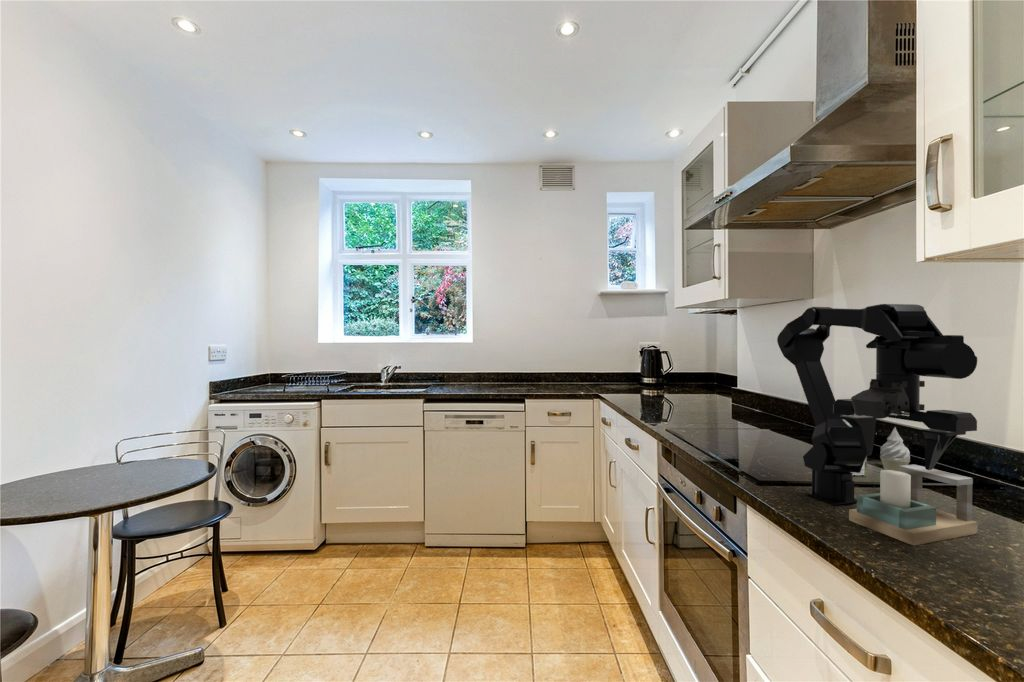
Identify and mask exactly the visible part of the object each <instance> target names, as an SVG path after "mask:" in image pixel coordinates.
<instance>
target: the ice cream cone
mask: <svg viewBox="0 0 1024 682" xmlns="http://www.w3.org/2000/svg"><path fill="white" fill-rule="evenodd" d="M886 440H887V441H886V442H885V443H883V444H882V446H880V447H879V448H880V453H879V454H880V455H879V457H880V461H881V463H882V466H883V470H893V471H899V466H903V465H910V462H911V455H910V454H911V452H910V450H909V448H908V447H907V446H906V445H905V444H904V443H903V442H904V440H903V438H902V437H901V436H900V434H899V432H898V430H897V427H896V426H894V428H893V429H892V431H891V433H890V434H889V436H888V437H887V438H886ZM899 472H901V471H899ZM904 473H905V472H904Z"/></svg>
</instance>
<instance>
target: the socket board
mask: <svg viewBox="0 0 1024 682" xmlns="http://www.w3.org/2000/svg"><path fill="white" fill-rule="evenodd" d="M899 471H901V472H905V473H907V474H909V475H911V499H910V508H908V509H901V508H898V507H895V506H892V505H889V504H886V503H883V502H880V492H876V493H869V494H868V493H867V494H861V495H860V494H859V495H856V499H857V502H856V508H851V509H850V508H849V510H848V521H850V522H852V523H855V524H856V525H860V526H863V527H866V528H867V529H870V530H873V531H875V532H877V533H880V534H884V535H885V536H888V537H891V538H893V539H896V540H899V541H900V542H902V543H903V542H904V543H906V544H908V545H910V546H919V545H924V544H928V543H929V544H930V543H934V542H940V541H945V540H949V539H951V540H952V539H958V538H960V537H966V536H972V535H977V534H978V526H979V525H978V524H979V523H978V521H975V520H973V484H974V479H973V477H969V476H965V475H961V474H957V473H951V472H947V471H944V470H939V469H937V468H933V469H932V470H926V469H925V466H923V465H918V464H916V463H915V464H914V463H913V464H908V465H903V466H899ZM923 478H926V479H929V480H933V481H937V482H941V483H946V484H948V485H949V484H950V485H953V486H956V515H955V514H952V513H949V512H946V511H942V510H940V509H937V507H935V506H933V505H929V504H928V503H927V504H926V503H924V502H923Z"/></svg>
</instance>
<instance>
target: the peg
mask: <svg viewBox="0 0 1024 682" xmlns="http://www.w3.org/2000/svg"><path fill="white" fill-rule="evenodd" d="M879 472H880V474H879V475H880V477H879V481H880V482H879V485H880V486H879V487H880V488H879V493H880V502H883V503H886V504H889V505H892V506H895V507H898V508H901V509H908V508H910V499H911V475H909V473H904V472H899V471H893V470H884V469H881V470H880V471H879Z"/></svg>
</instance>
